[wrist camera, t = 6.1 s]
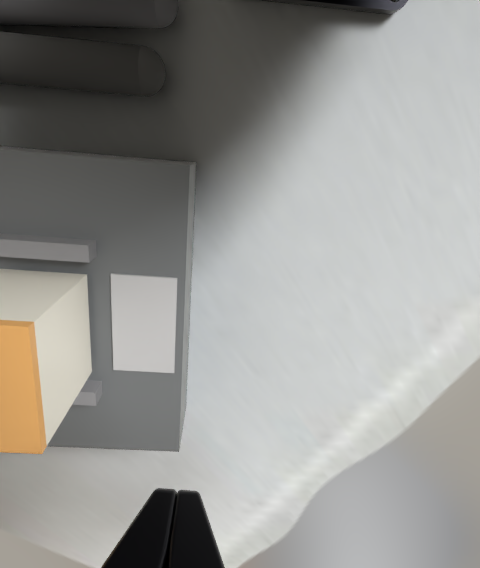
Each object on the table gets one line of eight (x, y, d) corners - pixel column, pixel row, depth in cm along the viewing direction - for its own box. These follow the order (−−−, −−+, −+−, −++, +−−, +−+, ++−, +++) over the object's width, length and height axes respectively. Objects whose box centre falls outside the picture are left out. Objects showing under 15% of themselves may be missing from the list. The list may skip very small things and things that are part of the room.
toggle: (87, 274, 14) (28, 327, 10) (91, 371, 15) (42, 453, 11) (0, 268, 14) (-97, 319, 9) (12, 367, 15) (-68, 449, 11)
